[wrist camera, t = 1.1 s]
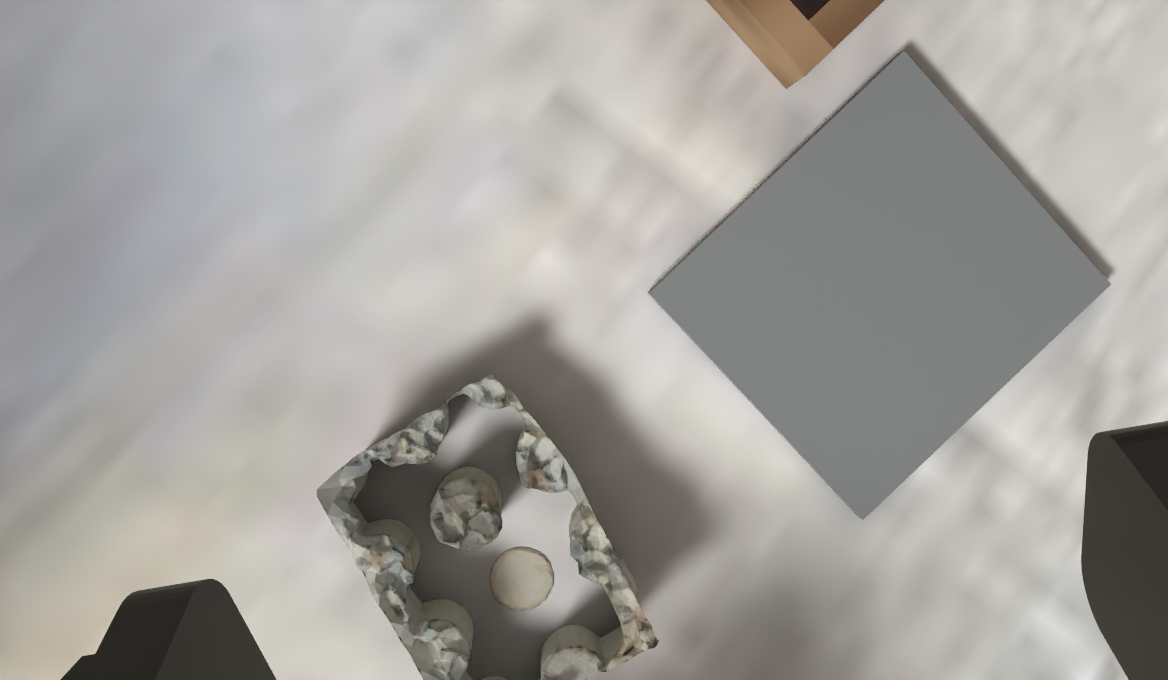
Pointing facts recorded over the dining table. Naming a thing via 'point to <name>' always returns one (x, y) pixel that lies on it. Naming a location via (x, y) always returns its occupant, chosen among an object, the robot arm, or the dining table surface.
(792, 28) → the walnut collar
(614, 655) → the egg carton
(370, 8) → the dining table surface
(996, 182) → the slate mat
